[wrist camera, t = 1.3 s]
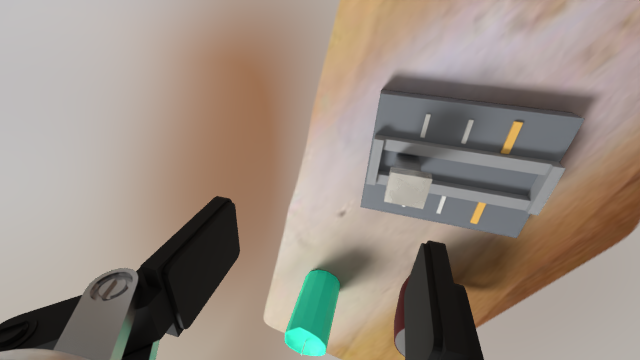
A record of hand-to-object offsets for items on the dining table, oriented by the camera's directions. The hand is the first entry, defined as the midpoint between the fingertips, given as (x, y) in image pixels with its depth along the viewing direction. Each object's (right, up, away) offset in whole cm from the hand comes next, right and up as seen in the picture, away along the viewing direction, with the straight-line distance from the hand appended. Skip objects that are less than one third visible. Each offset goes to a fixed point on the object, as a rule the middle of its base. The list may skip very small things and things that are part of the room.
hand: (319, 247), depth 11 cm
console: (+15, +5, +20) cm, 25 cm away
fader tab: (+9, +4, +19) cm, 22 cm away
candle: (0, -14, +35) cm, 38 cm away
